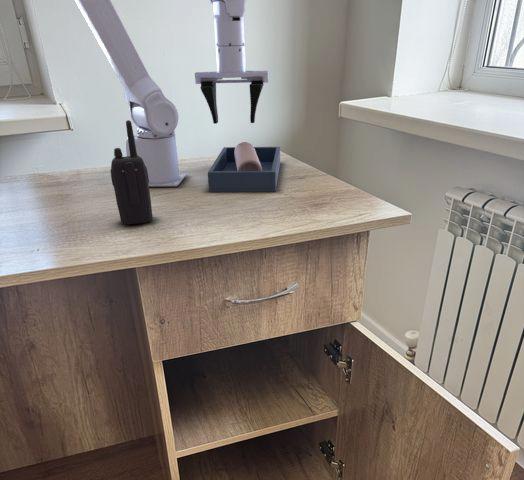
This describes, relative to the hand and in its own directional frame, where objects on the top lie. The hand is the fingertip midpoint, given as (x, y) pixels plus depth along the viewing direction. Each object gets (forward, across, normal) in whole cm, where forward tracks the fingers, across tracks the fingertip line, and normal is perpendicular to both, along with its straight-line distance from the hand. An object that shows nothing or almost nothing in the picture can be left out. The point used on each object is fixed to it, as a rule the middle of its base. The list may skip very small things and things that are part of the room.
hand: (234, 122), depth 103 cm
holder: (+9, -3, +6) cm, 12 cm away
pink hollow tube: (+9, -3, +6) cm, 11 cm away
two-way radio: (+10, +12, +35) cm, 38 cm away
